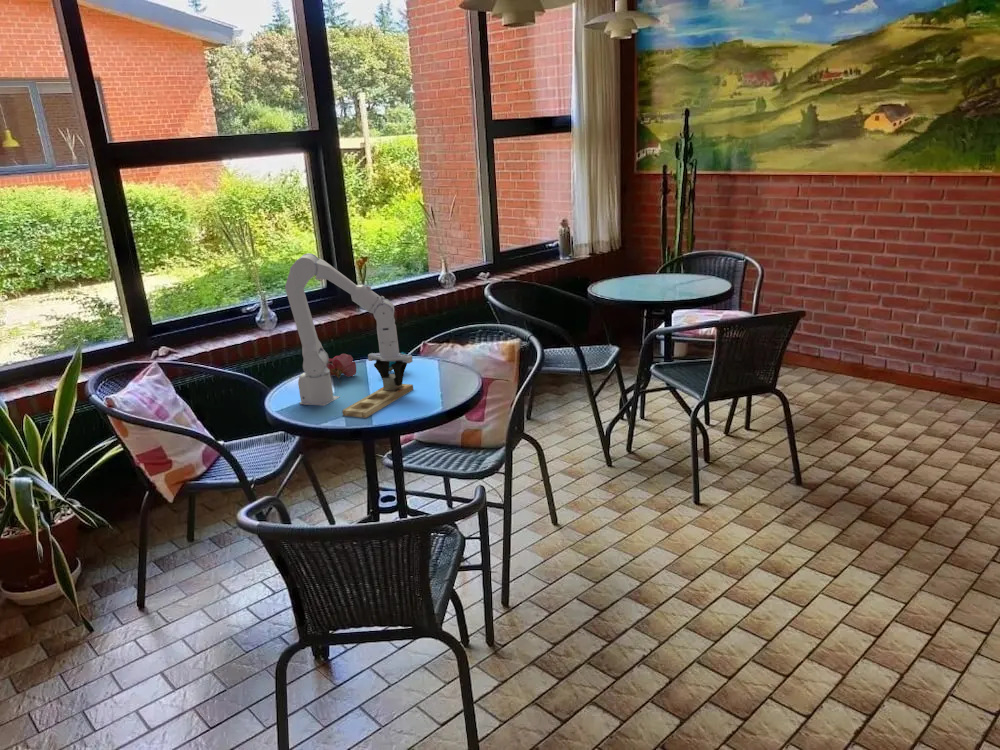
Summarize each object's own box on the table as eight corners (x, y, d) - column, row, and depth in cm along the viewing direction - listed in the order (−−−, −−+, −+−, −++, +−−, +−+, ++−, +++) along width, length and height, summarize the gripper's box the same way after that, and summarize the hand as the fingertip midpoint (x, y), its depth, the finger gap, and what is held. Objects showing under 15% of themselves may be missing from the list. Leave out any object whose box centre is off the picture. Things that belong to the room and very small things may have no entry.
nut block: (384, 393, 224) (382, 377, 223) (391, 389, 228) (389, 373, 226) (395, 394, 222) (393, 378, 221) (402, 390, 226) (400, 374, 224)
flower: (328, 385, 251) (336, 357, 254) (353, 389, 248) (361, 361, 250) (309, 375, 241) (318, 346, 243) (335, 379, 237) (344, 350, 240)
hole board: (343, 416, 210) (342, 409, 209) (391, 388, 231) (390, 382, 231) (366, 419, 206) (365, 412, 206) (413, 390, 228) (412, 384, 227)
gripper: (360, 343, 220) (365, 386, 224) (401, 345, 214) (406, 390, 218) (373, 337, 226) (379, 379, 230) (414, 339, 220) (419, 382, 224)
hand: (393, 384), depth 225 cm, fingers closed on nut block, 4 cm apart
